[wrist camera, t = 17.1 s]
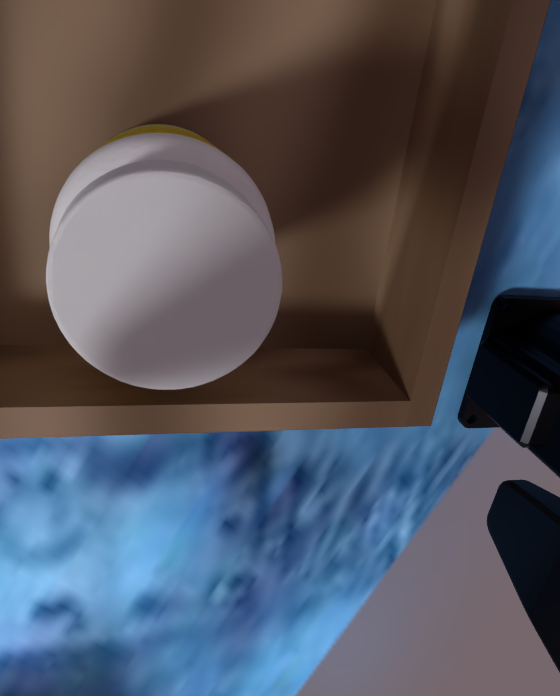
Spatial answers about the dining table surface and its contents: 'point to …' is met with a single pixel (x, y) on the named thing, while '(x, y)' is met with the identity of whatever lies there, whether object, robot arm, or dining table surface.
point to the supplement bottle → (162, 260)
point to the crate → (270, 191)
